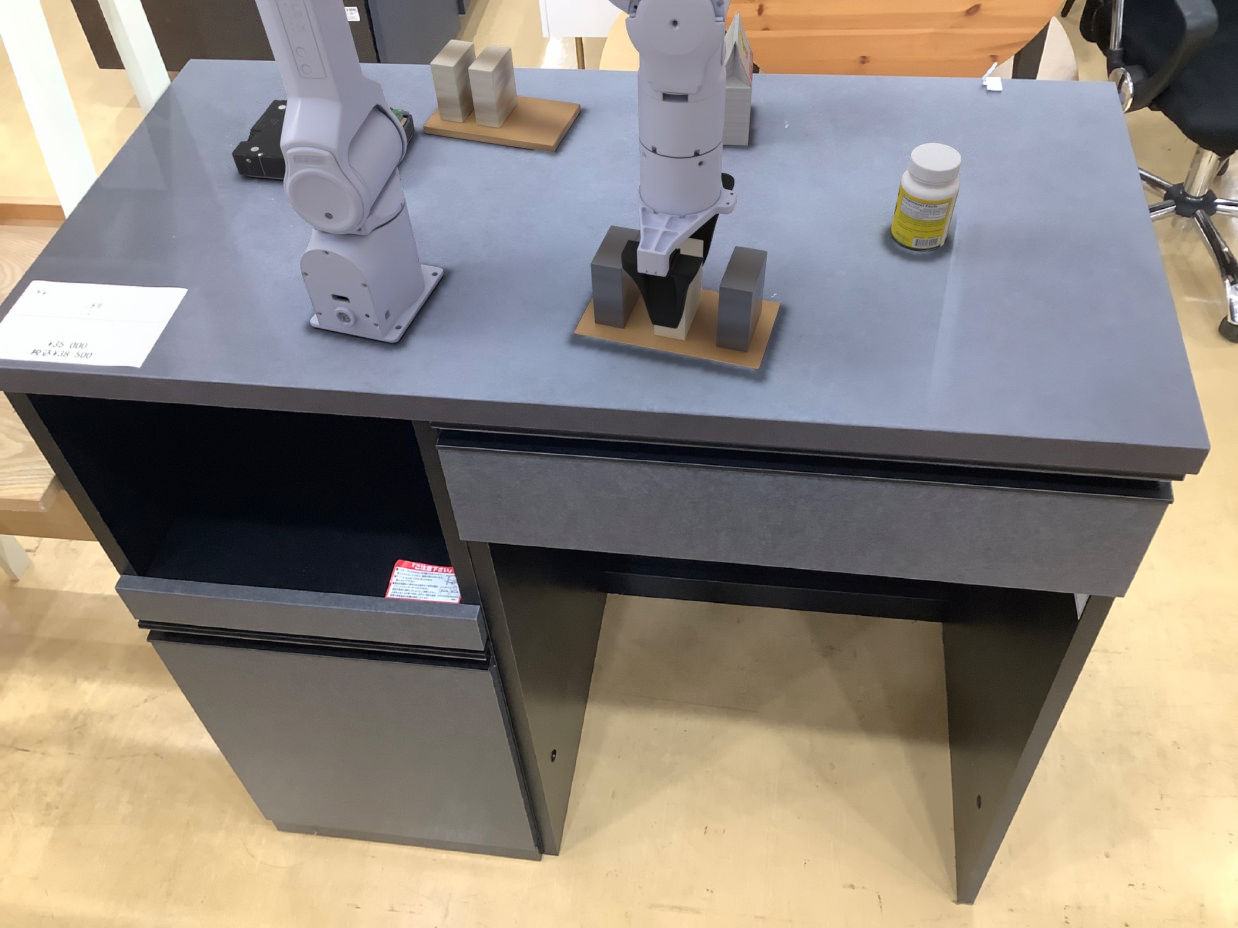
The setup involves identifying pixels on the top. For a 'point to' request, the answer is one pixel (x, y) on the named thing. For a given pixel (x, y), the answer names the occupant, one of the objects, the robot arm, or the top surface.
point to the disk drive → (264, 142)
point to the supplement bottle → (927, 197)
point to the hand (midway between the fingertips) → (679, 292)
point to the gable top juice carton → (737, 84)
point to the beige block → (693, 294)
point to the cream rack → (492, 101)
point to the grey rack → (721, 324)
